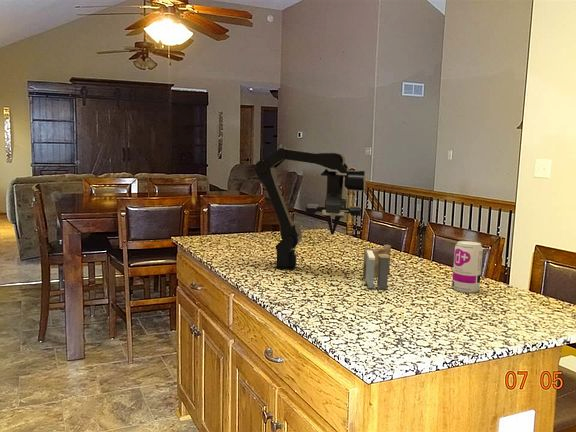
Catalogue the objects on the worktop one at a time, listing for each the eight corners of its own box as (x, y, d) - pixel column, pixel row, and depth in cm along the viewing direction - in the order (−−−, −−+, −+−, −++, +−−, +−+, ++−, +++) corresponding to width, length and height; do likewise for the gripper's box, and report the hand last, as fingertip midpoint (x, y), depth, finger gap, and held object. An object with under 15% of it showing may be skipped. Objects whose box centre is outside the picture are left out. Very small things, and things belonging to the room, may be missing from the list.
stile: (376, 287, 168) (378, 253, 167) (385, 287, 168) (387, 254, 167) (378, 289, 165) (380, 255, 164) (387, 289, 166) (389, 255, 164)
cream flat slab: (364, 279, 177) (366, 250, 176) (370, 279, 177) (372, 250, 175) (367, 288, 165) (369, 257, 164) (373, 289, 165) (375, 257, 164)
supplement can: (465, 294, 164) (469, 245, 162) (446, 287, 171) (449, 241, 169) (484, 291, 168) (489, 244, 166) (465, 285, 175) (468, 240, 173)
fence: (368, 280, 177) (370, 250, 175) (360, 278, 178) (362, 249, 177) (391, 273, 187) (392, 245, 186) (383, 272, 189) (385, 244, 188)
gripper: (305, 190, 176) (303, 236, 178) (362, 192, 174) (359, 240, 176) (307, 187, 187) (306, 231, 189) (361, 190, 185) (359, 234, 187)
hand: (332, 234), depth 185 cm, fingers closed
